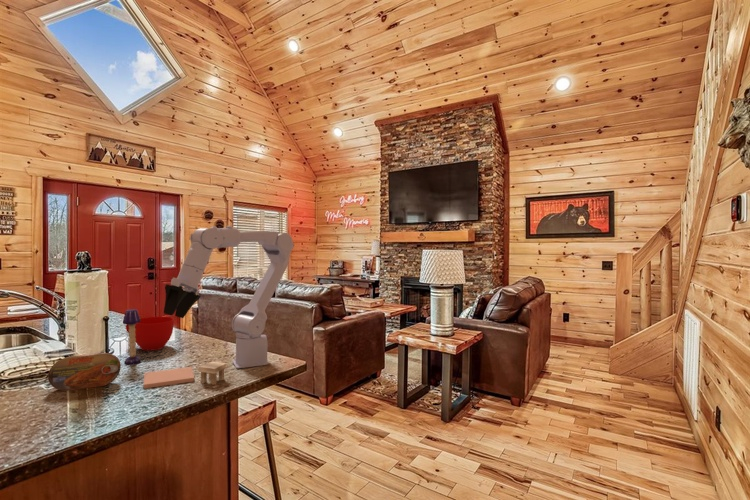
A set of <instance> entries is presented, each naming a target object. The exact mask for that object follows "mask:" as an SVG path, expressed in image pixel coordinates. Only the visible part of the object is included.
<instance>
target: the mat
mask: <svg viewBox="0 0 750 500" xmlns="http://www.w3.org/2000/svg"><path fill="white" fill-rule="evenodd" d="M143 376H144V377H143V384H142V386H143V387H142V388H143V389H150V388H155V387H164V386H170V385H176V384H182V383H183V384H185V383H193V382H195V375H194V371H193V367H192V366H188V367H180V368H172V369H170V368H169V369H164V370H155V371H148V372H144V375H143Z"/></svg>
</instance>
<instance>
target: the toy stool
mask: <svg viewBox="0 0 750 500" xmlns="http://www.w3.org/2000/svg"><path fill="white" fill-rule="evenodd" d="M225 369H227V362H220V361H210V362H207V363H205V364H202V365H200V366H198V372H199V373H200V383H201V384H205V383H207V381H208V380H207V379H209V380H210V385H216V384H217V376H218V381H224V380H225ZM217 373H218V375H217ZM207 374H208V375H207Z"/></svg>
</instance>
